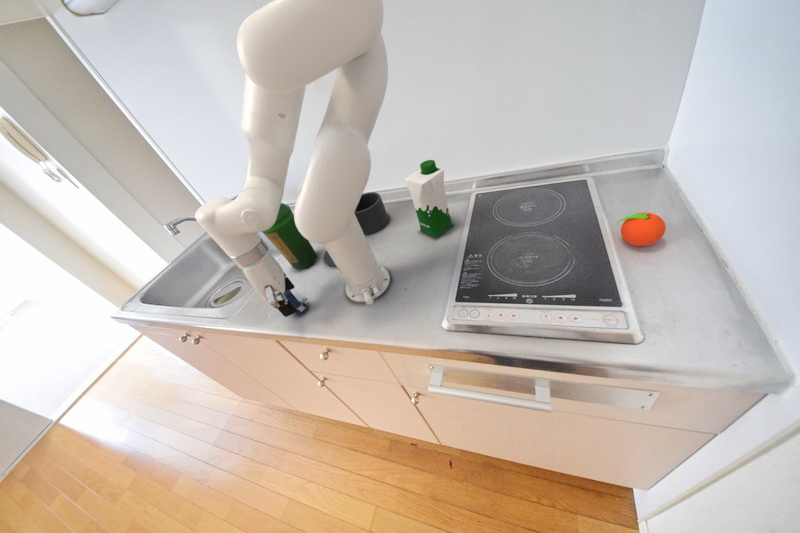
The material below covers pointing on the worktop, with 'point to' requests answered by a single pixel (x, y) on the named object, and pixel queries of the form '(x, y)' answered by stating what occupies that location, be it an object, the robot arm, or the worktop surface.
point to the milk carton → (430, 199)
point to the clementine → (642, 229)
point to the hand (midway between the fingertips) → (290, 301)
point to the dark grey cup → (371, 213)
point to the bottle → (290, 240)
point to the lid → (328, 259)
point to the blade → (296, 302)
